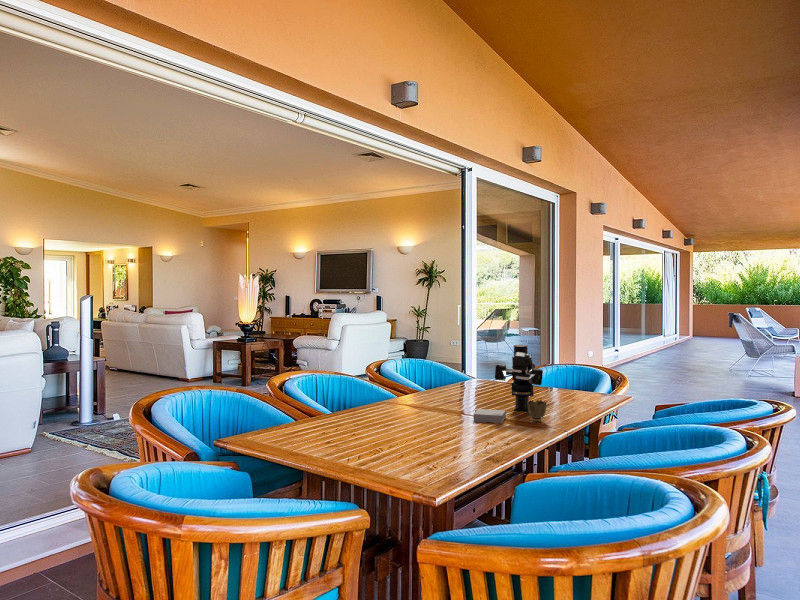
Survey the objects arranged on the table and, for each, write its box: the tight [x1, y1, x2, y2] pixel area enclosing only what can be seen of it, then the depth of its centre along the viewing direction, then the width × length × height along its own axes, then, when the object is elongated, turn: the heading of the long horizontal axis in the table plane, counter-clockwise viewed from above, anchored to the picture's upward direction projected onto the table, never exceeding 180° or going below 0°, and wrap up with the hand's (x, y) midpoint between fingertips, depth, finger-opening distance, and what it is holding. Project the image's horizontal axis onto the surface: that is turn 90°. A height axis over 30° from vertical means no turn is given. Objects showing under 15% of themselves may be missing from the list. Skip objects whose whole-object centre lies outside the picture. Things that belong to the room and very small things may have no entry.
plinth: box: [473, 408, 507, 424], centre depth 227 cm, size 11×11×3 cm
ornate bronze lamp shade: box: [527, 399, 547, 423], centre depth 223 cm, size 8×7×8 cm
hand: (516, 379), depth 223 cm, fingers open, 9 cm apart
